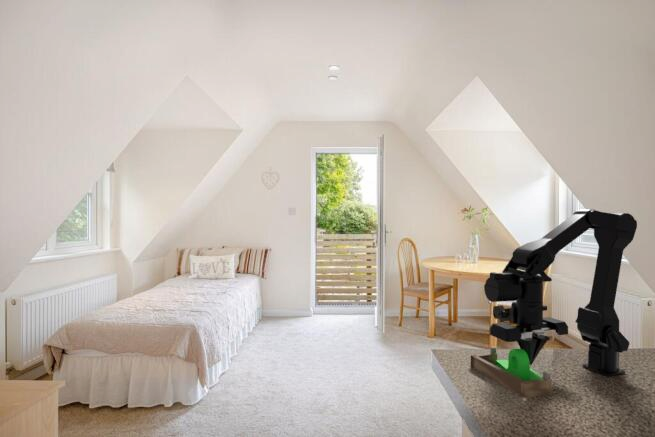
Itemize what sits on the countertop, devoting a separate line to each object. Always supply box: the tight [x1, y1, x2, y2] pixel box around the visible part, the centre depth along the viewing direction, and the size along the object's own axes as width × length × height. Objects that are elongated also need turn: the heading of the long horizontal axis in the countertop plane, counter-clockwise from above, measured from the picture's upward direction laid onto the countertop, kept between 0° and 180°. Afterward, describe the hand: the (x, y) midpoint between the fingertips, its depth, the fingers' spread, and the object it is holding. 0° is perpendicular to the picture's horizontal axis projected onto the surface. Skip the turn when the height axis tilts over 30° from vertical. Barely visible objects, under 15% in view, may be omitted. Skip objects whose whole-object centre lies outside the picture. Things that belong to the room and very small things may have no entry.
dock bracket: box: [470, 346, 553, 399], centre depth 91 cm, size 7×18×4 cm, turn 18°
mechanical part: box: [495, 348, 543, 381], centre depth 93 cm, size 12×6×8 cm, turn 3°
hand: (528, 364), depth 93 cm, fingers closed
